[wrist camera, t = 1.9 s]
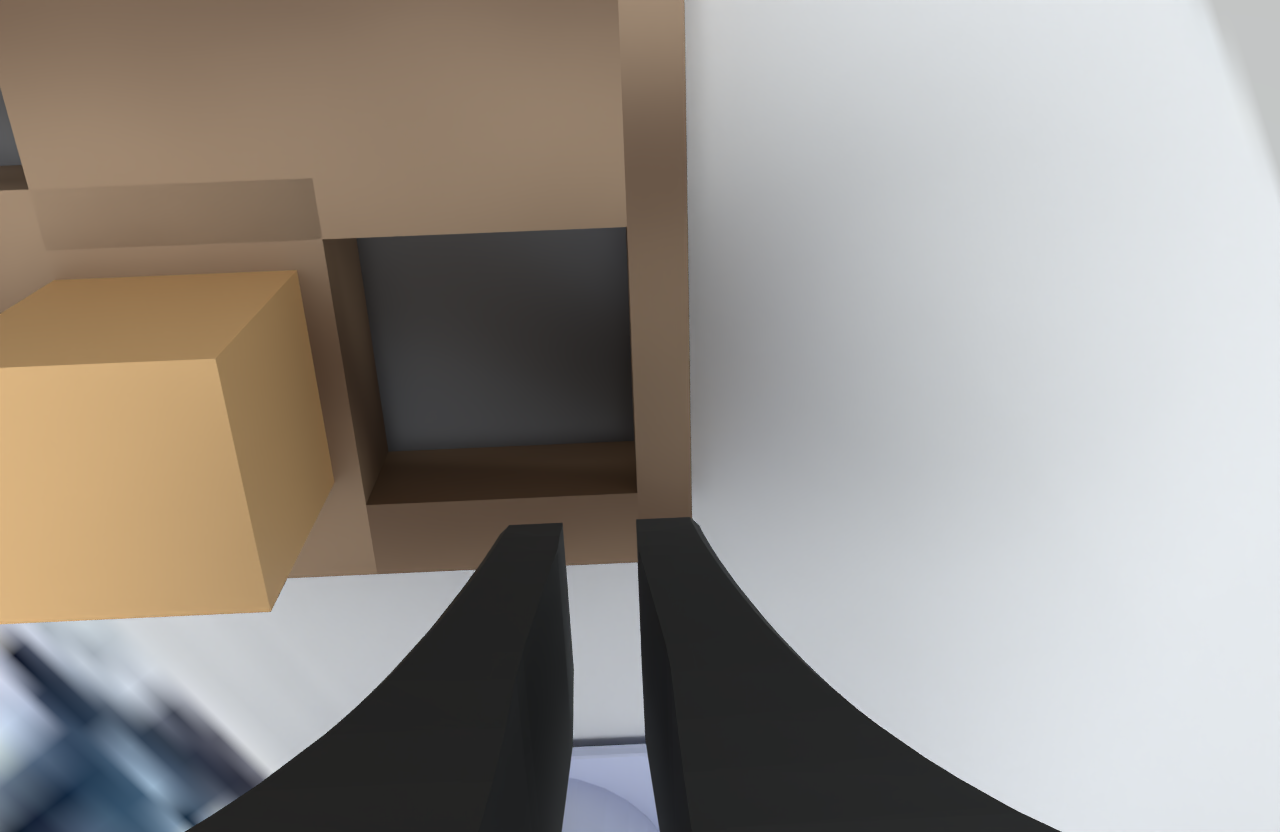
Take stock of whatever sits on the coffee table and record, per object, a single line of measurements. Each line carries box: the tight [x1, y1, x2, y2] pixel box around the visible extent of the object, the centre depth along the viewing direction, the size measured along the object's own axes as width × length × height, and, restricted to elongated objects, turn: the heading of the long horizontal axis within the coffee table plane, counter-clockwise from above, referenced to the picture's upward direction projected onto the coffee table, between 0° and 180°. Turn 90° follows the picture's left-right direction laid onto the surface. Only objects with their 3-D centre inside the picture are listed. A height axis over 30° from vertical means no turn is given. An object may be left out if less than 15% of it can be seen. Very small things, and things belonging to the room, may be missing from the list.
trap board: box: [0, 0, 692, 578], centre depth 18 cm, size 14×19×2 cm
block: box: [0, 270, 334, 624], centre depth 16 cm, size 4×4×4 cm
